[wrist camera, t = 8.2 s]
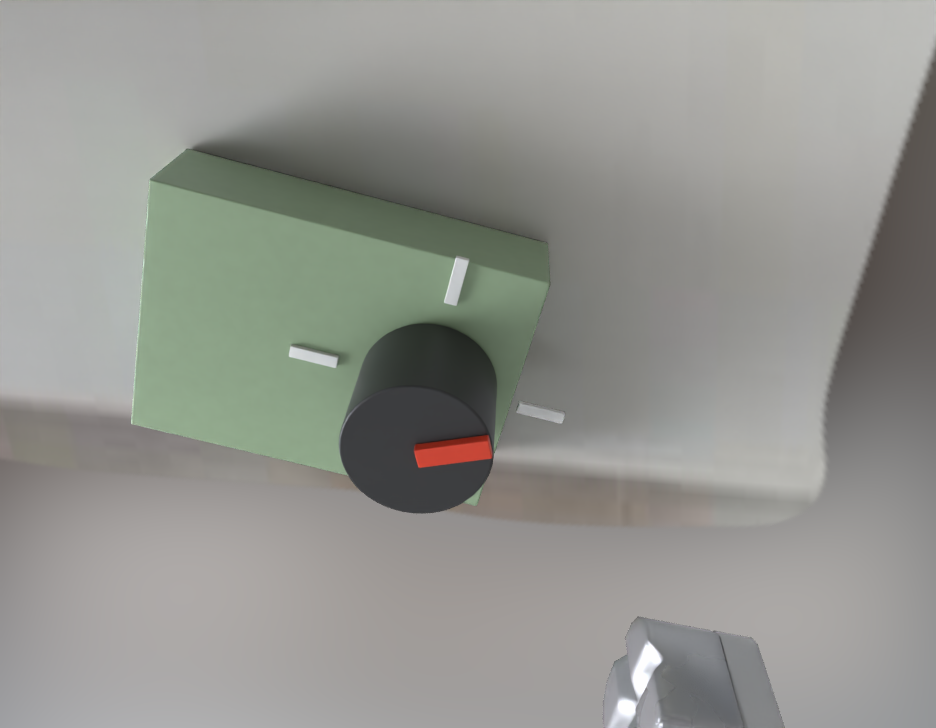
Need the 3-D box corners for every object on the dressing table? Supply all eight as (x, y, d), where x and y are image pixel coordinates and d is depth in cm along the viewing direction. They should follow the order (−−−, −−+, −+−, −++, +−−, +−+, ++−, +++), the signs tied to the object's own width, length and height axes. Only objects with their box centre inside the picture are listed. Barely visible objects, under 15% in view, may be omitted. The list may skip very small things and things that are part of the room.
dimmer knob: (378, 448, 27) (358, 529, 23) (345, 334, 25) (317, 404, 22) (508, 431, 26) (505, 512, 23) (483, 312, 24) (477, 381, 21)
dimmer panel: (164, 378, 30) (128, 430, 27) (187, 144, 26) (146, 177, 23) (524, 465, 30) (524, 524, 28) (600, 253, 26) (609, 297, 24)
